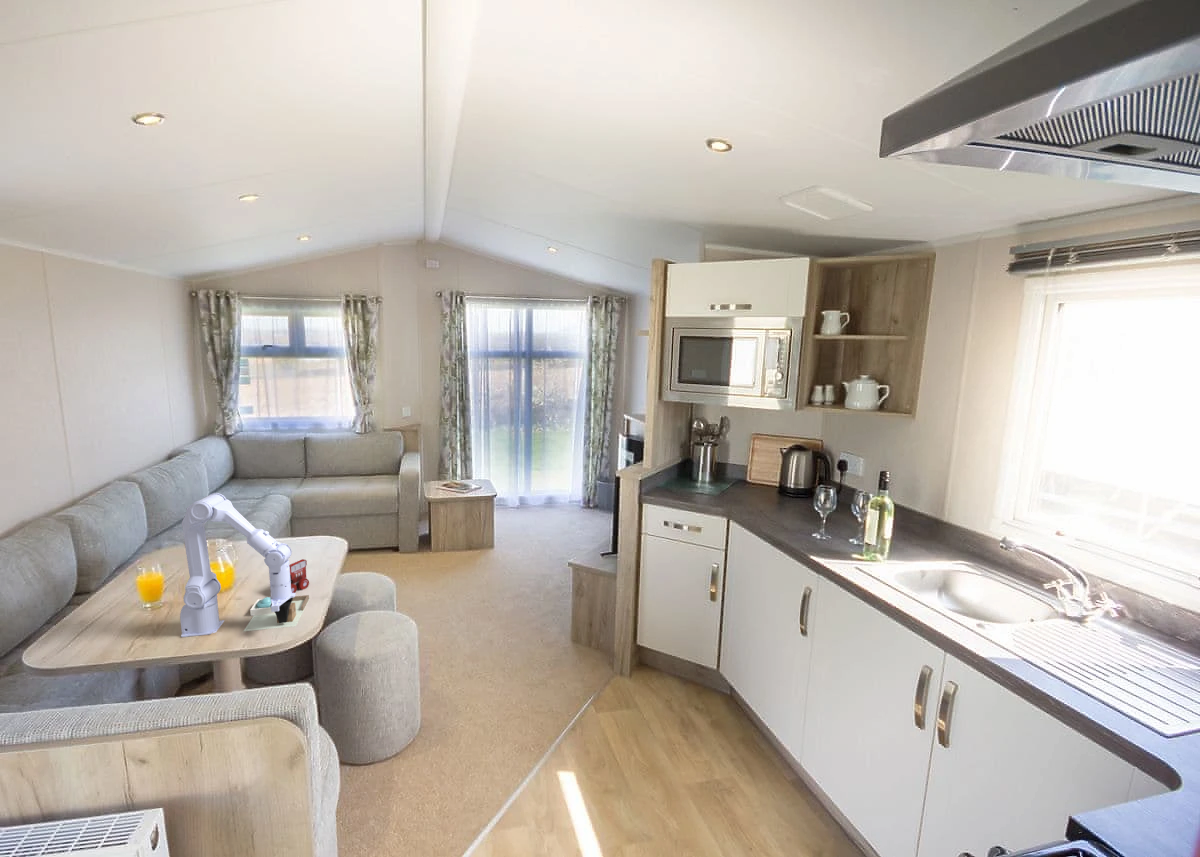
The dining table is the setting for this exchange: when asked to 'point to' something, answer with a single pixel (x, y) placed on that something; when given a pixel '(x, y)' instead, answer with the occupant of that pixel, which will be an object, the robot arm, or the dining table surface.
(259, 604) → the dome
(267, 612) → the pale green flat board
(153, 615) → the dining table surface
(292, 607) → the die
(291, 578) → the toy fire truck
